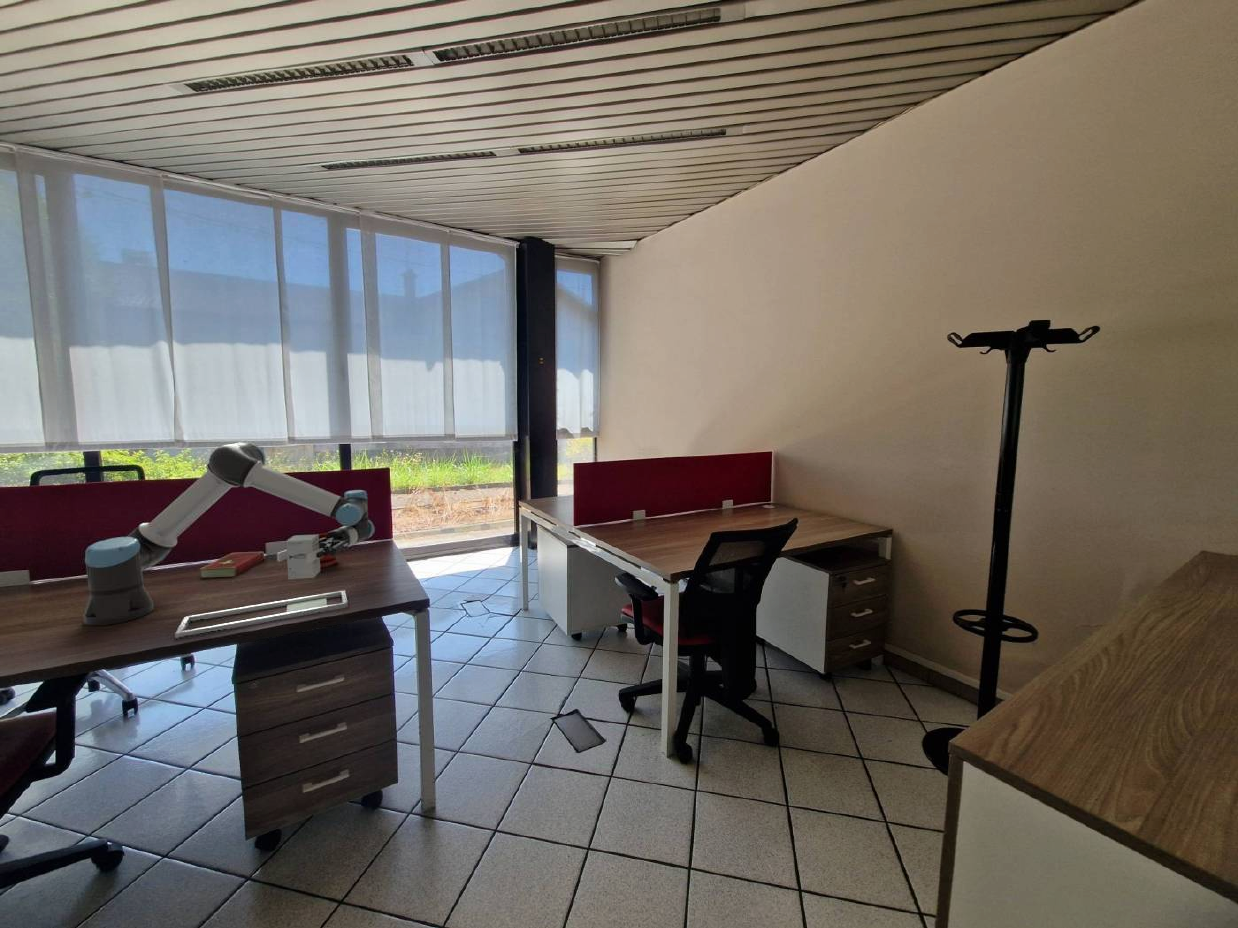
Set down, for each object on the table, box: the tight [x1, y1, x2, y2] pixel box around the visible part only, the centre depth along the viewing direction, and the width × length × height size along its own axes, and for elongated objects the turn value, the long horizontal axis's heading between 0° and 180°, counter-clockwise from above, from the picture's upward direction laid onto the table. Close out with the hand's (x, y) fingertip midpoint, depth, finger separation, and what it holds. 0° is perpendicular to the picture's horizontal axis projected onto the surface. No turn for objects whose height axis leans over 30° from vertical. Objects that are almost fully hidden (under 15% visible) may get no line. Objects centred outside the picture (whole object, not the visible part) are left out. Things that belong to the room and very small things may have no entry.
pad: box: [285, 598, 328, 613], centre depth 159 cm, size 11×10×1 cm
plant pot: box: [315, 533, 339, 568], centre depth 201 cm, size 13×13×12 cm
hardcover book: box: [198, 551, 265, 579], centre depth 196 cm, size 12×21×4 cm, turn 10°
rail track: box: [174, 589, 349, 639], centre depth 154 cm, size 42×13×2 cm, turn 122°
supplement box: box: [285, 534, 321, 581], centre depth 157 cm, size 7×7×13 cm
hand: (292, 557), depth 153 cm, fingers closed on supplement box, 9 cm apart
